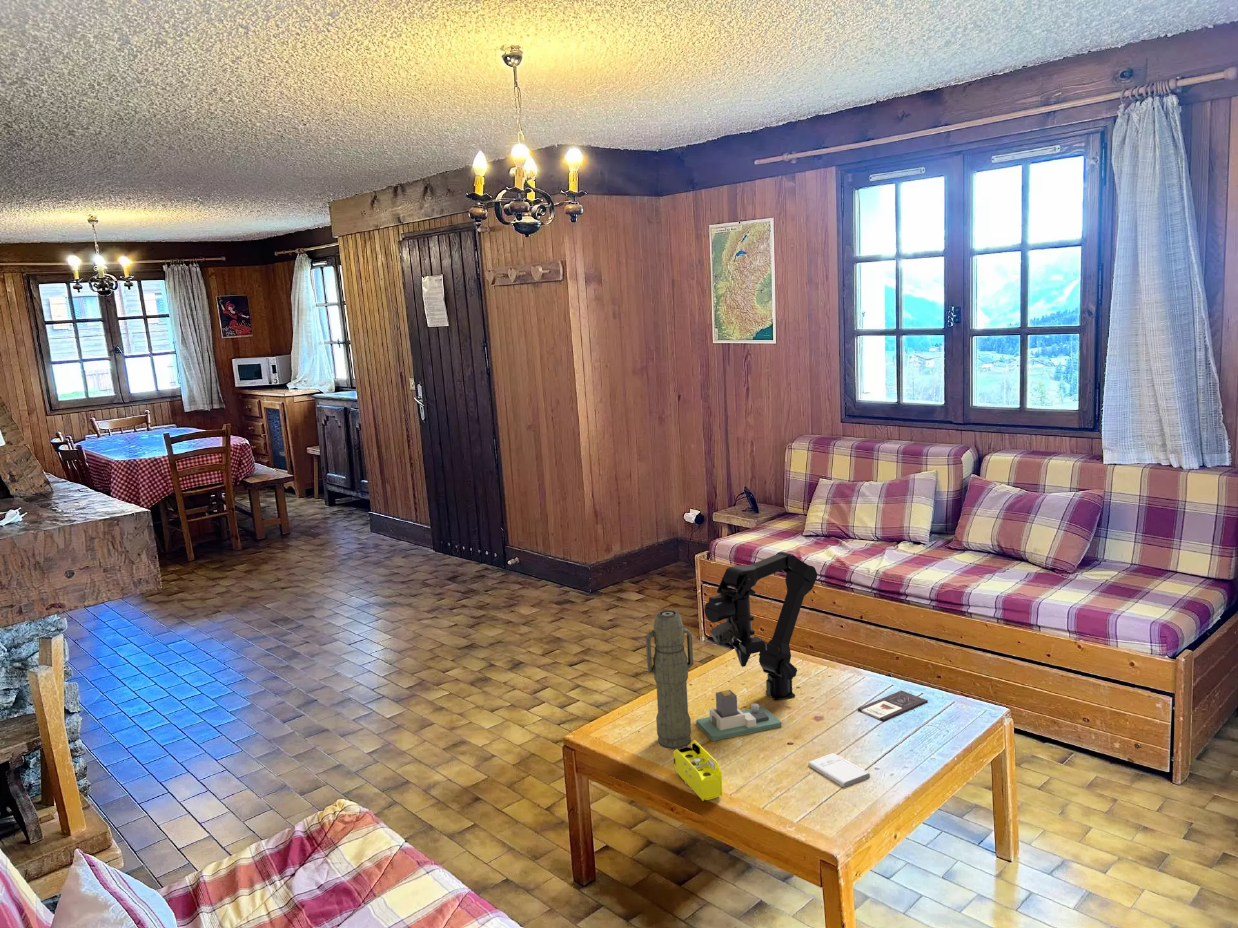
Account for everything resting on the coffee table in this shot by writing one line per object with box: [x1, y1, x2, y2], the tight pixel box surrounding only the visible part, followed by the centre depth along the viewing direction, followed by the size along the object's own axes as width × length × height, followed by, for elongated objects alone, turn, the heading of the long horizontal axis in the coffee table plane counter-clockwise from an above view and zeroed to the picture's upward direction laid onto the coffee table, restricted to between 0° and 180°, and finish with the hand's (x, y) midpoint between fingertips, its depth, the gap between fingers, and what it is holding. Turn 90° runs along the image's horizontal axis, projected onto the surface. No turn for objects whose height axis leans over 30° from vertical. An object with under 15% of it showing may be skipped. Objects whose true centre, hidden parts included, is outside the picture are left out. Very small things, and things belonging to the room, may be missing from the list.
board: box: [695, 703, 783, 742], centre depth 245 cm, size 20×11×4 cm, turn 108°
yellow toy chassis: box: [673, 739, 723, 802], centre depth 216 cm, size 16×6×8 cm, turn 21°
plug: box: [715, 689, 738, 718], centre depth 244 cm, size 4×4×9 cm
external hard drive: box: [807, 752, 871, 788], centre depth 219 cm, size 2×8×12 cm
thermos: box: [645, 609, 694, 750], centre depth 236 cm, size 9×12×35 cm
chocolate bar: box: [857, 689, 929, 722], centre depth 251 cm, size 9×1×18 cm
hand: (743, 665), depth 253 cm, fingers closed
